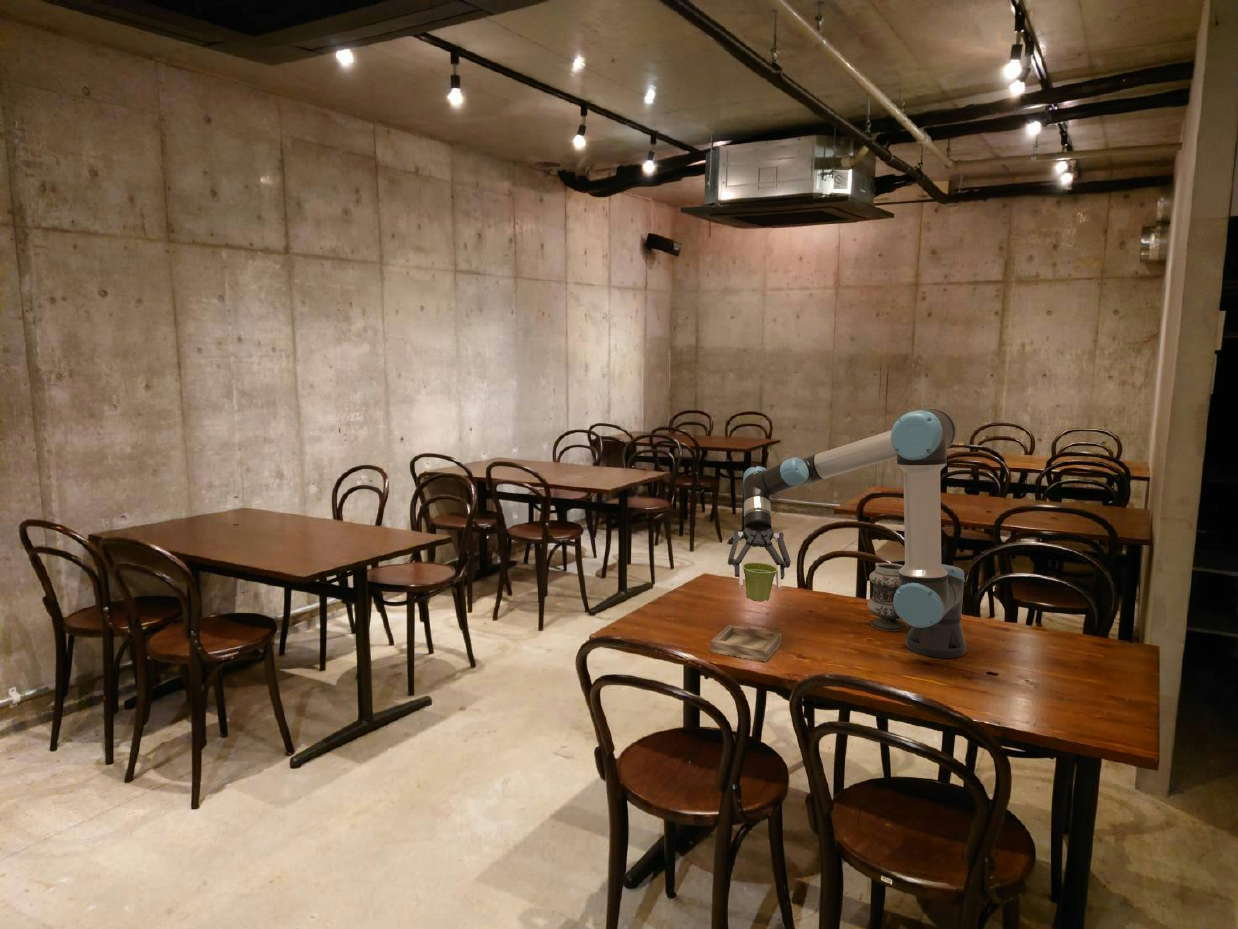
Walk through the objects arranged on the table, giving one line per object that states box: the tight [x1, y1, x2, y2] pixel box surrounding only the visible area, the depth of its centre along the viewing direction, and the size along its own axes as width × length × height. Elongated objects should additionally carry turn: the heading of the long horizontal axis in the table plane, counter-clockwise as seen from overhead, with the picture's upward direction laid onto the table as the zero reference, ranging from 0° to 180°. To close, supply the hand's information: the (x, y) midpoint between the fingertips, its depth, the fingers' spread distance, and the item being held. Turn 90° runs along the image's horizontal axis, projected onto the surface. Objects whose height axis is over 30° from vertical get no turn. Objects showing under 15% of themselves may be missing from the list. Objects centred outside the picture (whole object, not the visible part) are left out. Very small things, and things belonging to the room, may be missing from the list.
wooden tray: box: [709, 624, 783, 663], centre depth 208 cm, size 15×15×3 cm
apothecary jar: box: [866, 562, 907, 632], centre depth 227 cm, size 12×12×18 cm
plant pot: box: [742, 562, 778, 603], centre depth 209 cm, size 9×9×9 cm
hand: (759, 588), depth 206 cm, fingers closed on plant pot, 9 cm apart
